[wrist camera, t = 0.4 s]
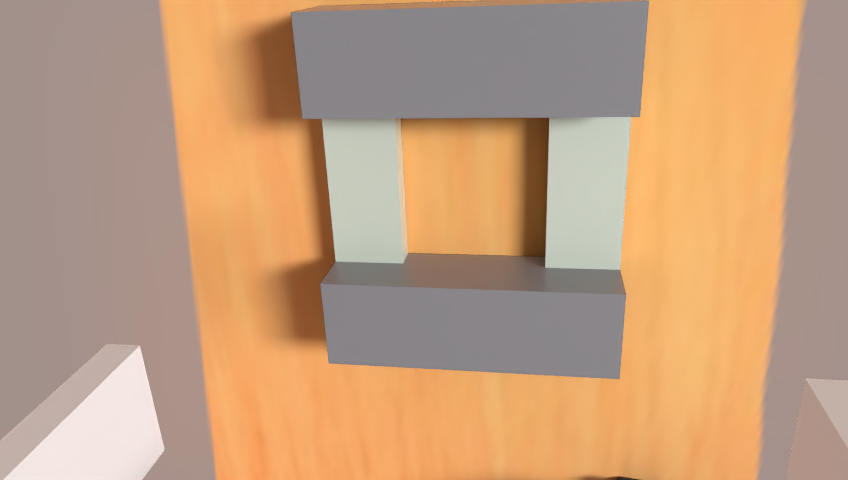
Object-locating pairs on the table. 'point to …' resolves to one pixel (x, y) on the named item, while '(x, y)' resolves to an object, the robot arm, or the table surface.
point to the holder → (475, 98)
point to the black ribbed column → (625, 478)
